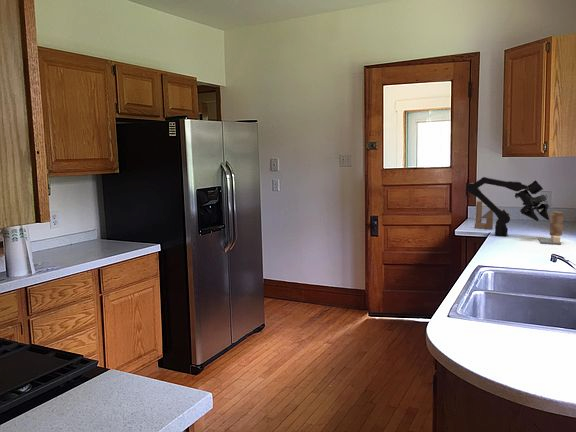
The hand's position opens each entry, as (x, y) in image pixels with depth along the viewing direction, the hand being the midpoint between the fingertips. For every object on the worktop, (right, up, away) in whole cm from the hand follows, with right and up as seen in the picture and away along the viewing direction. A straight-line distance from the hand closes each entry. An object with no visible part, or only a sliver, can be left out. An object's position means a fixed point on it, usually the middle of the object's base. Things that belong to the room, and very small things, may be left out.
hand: (543, 220), depth 284 cm
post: (+4, -8, -6) cm, 11 cm away
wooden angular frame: (-17, -6, +45) cm, 48 cm away
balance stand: (+1, -12, -4) cm, 13 cm away
